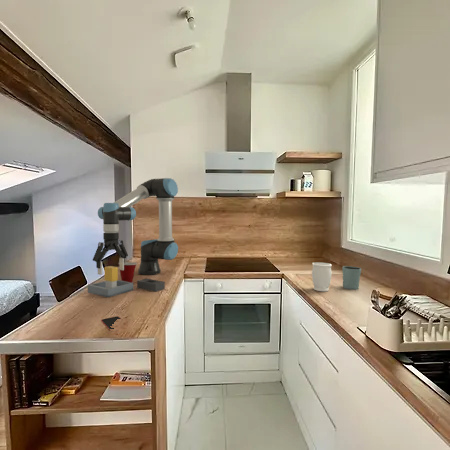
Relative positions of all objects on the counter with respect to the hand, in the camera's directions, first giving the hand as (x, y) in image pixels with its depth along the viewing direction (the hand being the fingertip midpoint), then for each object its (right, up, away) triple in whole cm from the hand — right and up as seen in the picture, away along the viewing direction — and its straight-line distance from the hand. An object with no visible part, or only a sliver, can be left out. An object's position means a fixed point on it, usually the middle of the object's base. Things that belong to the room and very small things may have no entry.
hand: (111, 272), depth 153 cm
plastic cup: (+2, -10, +20) cm, 22 cm away
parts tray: (0, -10, 0) cm, 10 cm away
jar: (+115, -12, +12) cm, 116 cm away
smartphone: (+18, -13, -43) cm, 49 cm away
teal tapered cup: (+135, -12, +18) cm, 137 cm away
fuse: (0, -9, 0) cm, 9 cm away
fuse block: (+19, -10, +8) cm, 23 cm away
